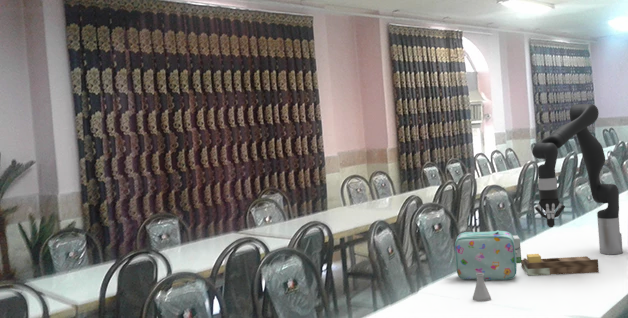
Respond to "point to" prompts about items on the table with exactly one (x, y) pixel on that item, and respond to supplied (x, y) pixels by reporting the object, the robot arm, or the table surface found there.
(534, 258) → the block
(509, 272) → the lunch box
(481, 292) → the flask
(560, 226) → the table surface
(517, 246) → the ink box
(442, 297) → the table surface
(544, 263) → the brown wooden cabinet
